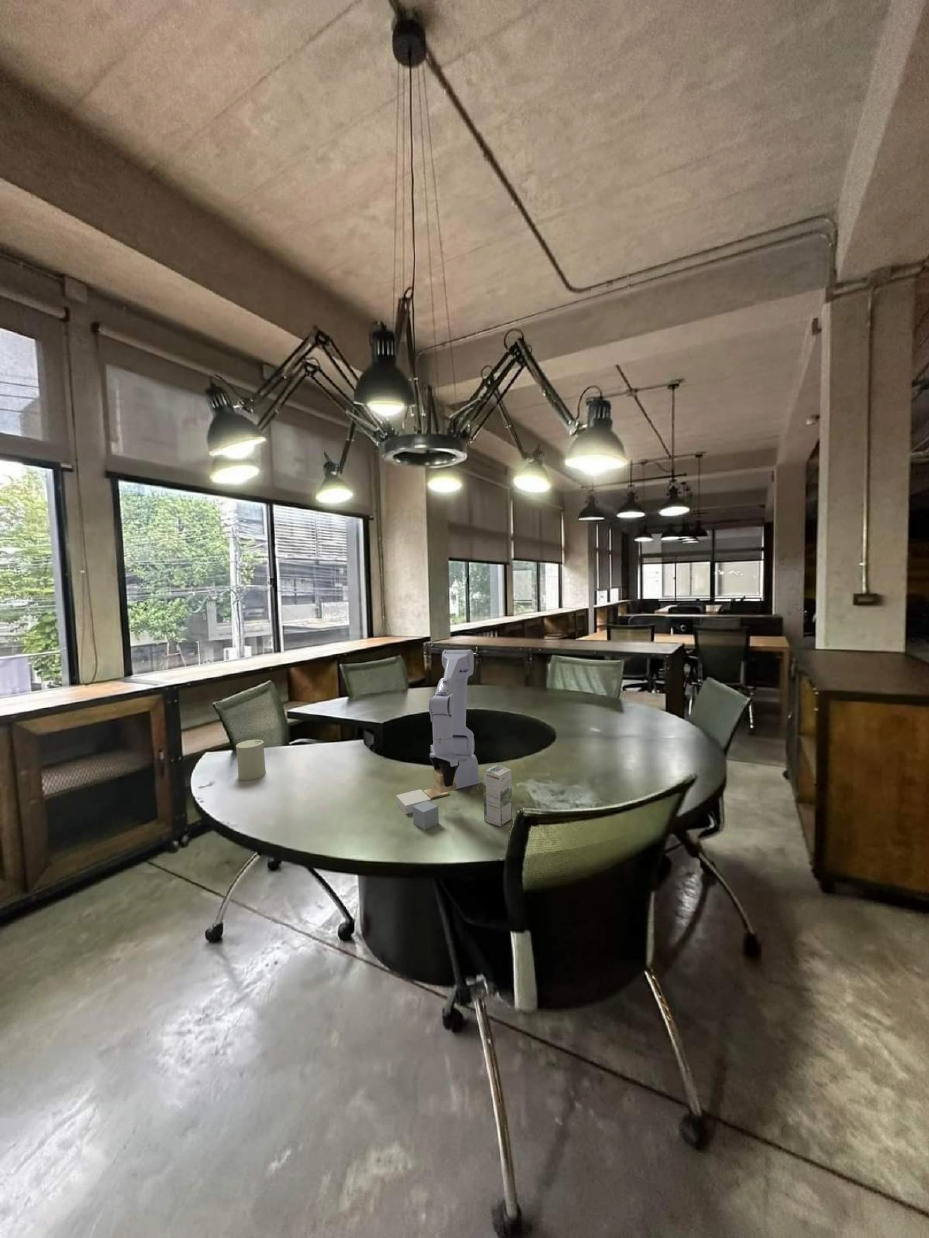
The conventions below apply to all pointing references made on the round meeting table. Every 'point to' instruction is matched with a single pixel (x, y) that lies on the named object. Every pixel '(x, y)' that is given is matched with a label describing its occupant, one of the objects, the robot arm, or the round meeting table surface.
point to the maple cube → (442, 782)
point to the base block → (411, 800)
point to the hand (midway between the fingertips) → (444, 782)
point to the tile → (435, 793)
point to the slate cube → (425, 815)
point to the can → (250, 759)
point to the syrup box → (497, 795)
